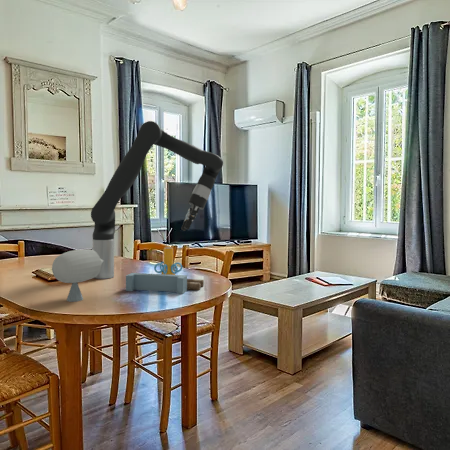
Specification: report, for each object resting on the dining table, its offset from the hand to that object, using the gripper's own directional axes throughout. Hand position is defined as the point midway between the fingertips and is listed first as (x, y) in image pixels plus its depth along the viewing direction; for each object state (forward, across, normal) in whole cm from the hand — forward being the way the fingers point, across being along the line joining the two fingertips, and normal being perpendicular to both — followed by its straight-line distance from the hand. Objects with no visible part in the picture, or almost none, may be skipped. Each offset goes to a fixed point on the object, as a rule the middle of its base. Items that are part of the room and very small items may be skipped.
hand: (184, 229), depth 177 cm
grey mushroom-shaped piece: (+42, +21, -25) cm, 53 cm away
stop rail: (+29, +14, -1) cm, 32 cm away
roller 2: (+23, +14, +10) cm, 29 cm away
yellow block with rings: (+24, 0, +3) cm, 24 cm away
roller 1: (+21, +9, +12) cm, 26 cm away
